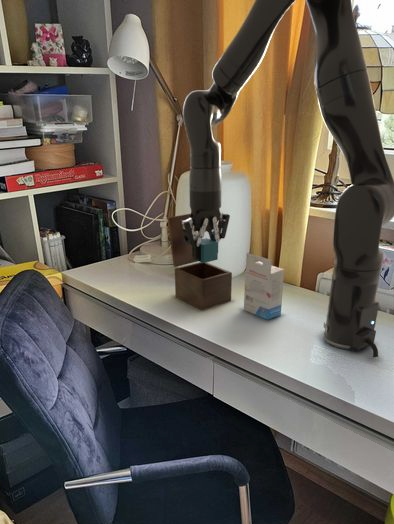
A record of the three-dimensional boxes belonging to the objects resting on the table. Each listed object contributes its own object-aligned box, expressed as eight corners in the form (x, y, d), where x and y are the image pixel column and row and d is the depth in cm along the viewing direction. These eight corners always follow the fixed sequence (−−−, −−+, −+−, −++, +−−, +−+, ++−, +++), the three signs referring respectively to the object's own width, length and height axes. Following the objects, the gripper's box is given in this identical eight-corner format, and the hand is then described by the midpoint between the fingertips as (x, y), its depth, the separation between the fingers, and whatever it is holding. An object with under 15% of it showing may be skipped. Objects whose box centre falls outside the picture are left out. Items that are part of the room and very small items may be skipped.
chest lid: (199, 212, 124) (197, 212, 124) (168, 217, 119) (167, 217, 119) (204, 259, 128) (202, 259, 129) (175, 267, 123) (173, 266, 124)
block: (217, 259, 119) (218, 241, 117) (203, 263, 117) (203, 245, 115) (206, 255, 123) (206, 238, 120) (192, 258, 120) (192, 241, 118)
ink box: (281, 315, 116) (286, 256, 109) (267, 320, 113) (271, 260, 106) (256, 304, 122) (260, 248, 115) (242, 309, 119) (245, 252, 112)
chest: (231, 301, 124) (231, 272, 120) (202, 310, 119) (201, 280, 115) (203, 288, 132) (203, 261, 129) (175, 296, 127) (174, 268, 123)
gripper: (190, 193, 105) (191, 267, 113) (239, 186, 113) (236, 256, 121) (171, 188, 110) (173, 260, 118) (218, 182, 118) (217, 249, 126)
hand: (205, 257), depth 120 cm, fingers closed on block, 4 cm apart
